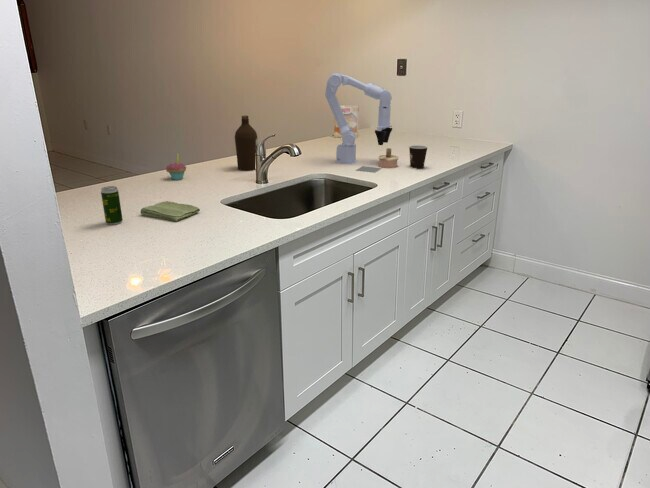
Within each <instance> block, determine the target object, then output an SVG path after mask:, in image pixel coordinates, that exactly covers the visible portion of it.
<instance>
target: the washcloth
mask: <svg viewBox="0 0 650 488" xmlns="http://www.w3.org/2000/svg"><path fill="white" fill-rule="evenodd" d="M200 209H201V208H199V207H198V206H195V205H192V204H187V203H186V204H184V203H178V202H174V201H168V200H166V201H162V202H157V203H155V204H153V205H148V206H145V207H142V208H140V214H141V216H144V217H148V218H153V219H160V220H167V221H172V222H180V221H181V220H184V219H186V218H188V217H191V216H193V215H194V214H197V213H198V212H200V211H201V210H200Z"/></svg>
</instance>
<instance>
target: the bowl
mask: <svg viewBox="0 0 650 488" xmlns="http://www.w3.org/2000/svg"><path fill="white" fill-rule="evenodd" d="M378 160H379V161H378V166H379V168H382V169H384V168H385V169H393V168H397V167H398V160H394V161H385V160H380V159H379V158H378Z"/></svg>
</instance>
